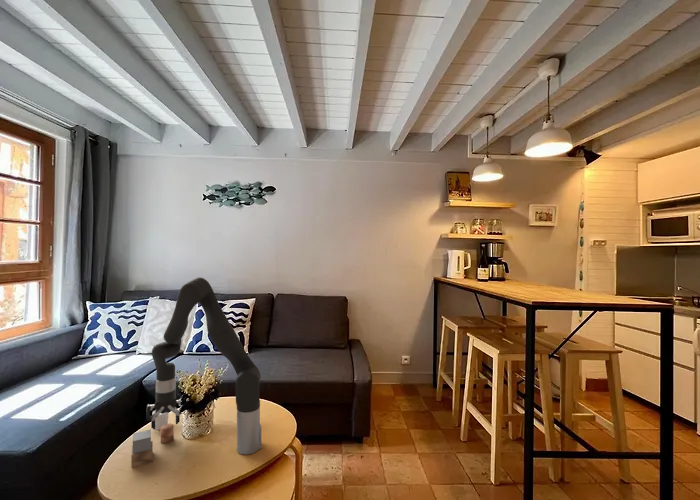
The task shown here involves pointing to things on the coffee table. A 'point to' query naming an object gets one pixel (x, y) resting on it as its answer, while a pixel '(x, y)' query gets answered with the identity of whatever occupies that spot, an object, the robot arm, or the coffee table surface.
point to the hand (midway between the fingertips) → (165, 426)
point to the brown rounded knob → (167, 433)
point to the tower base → (142, 457)
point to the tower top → (141, 441)
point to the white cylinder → (161, 420)
